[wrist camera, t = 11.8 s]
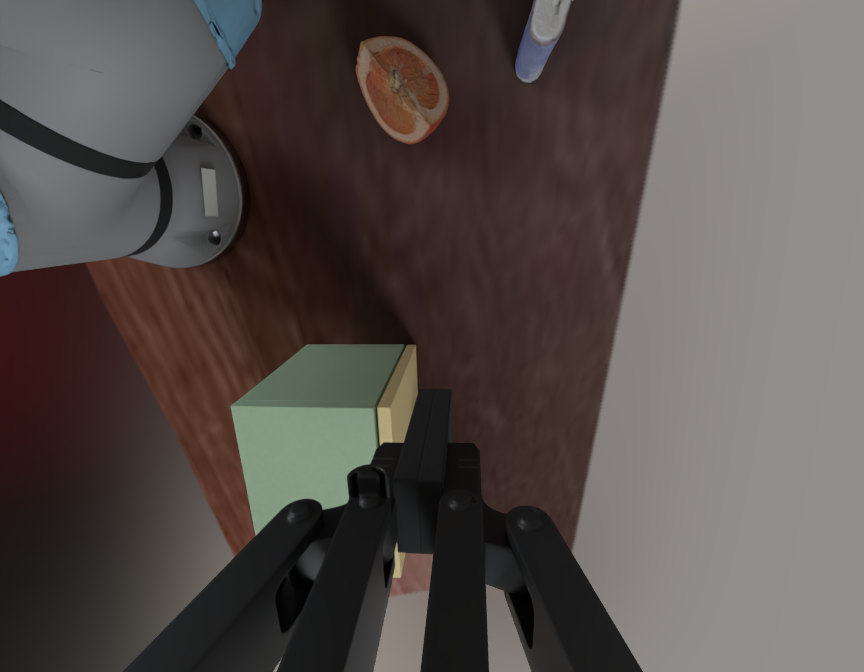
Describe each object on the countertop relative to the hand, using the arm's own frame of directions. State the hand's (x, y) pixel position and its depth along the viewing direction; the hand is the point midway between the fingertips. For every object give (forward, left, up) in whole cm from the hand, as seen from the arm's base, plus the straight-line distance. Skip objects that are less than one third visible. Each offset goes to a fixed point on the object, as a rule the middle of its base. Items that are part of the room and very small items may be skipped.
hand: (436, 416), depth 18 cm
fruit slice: (-4, +19, -25) cm, 31 cm away
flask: (+8, +24, -25) cm, 35 cm away
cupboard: (-11, -12, -24) cm, 30 cm away
